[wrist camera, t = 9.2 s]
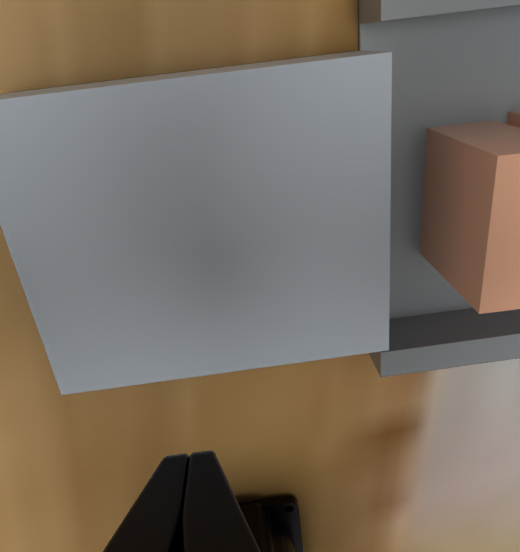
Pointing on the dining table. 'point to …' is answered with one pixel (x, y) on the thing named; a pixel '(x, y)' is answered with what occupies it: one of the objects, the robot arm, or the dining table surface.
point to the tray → (411, 163)
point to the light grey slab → (202, 217)
